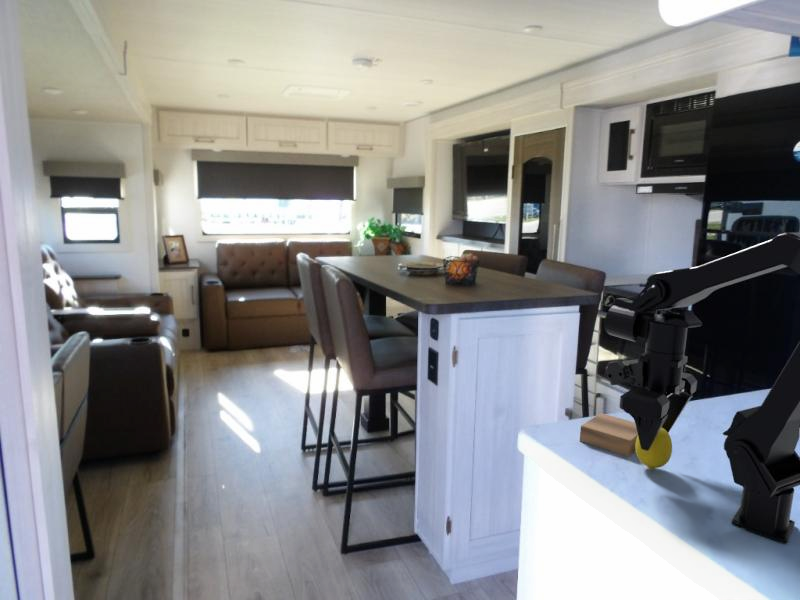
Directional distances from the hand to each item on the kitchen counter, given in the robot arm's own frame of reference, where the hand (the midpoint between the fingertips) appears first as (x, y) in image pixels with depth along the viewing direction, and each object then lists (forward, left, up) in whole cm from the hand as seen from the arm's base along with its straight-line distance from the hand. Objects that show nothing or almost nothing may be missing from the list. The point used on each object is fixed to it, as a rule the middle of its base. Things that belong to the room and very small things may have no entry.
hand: (654, 441), depth 92 cm
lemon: (0, 0, -5) cm, 5 cm away
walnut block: (+7, +9, -5) cm, 12 cm away
